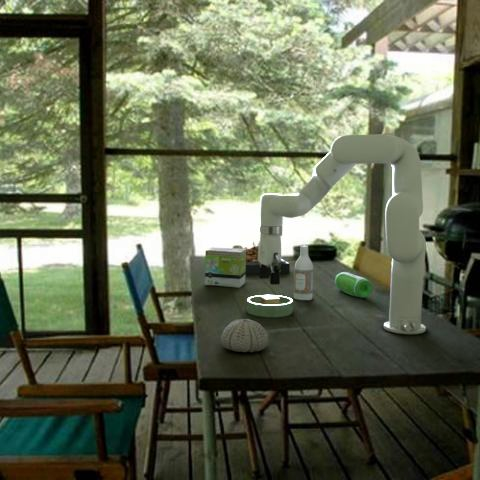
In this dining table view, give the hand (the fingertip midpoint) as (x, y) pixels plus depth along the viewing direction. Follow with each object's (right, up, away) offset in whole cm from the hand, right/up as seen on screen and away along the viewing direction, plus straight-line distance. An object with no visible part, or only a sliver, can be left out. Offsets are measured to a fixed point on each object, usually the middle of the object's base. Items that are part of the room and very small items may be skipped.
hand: (269, 281), depth 209 cm
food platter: (-4, +1, +95) cm, 95 cm away
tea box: (-16, -5, +48) cm, 51 cm away
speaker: (+34, -7, +32) cm, 47 cm away
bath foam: (+14, -8, +23) cm, 28 cm away
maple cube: (0, -10, +1) cm, 10 cm away
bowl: (0, -11, +1) cm, 11 cm away
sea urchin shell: (-9, -16, -38) cm, 42 cm away
